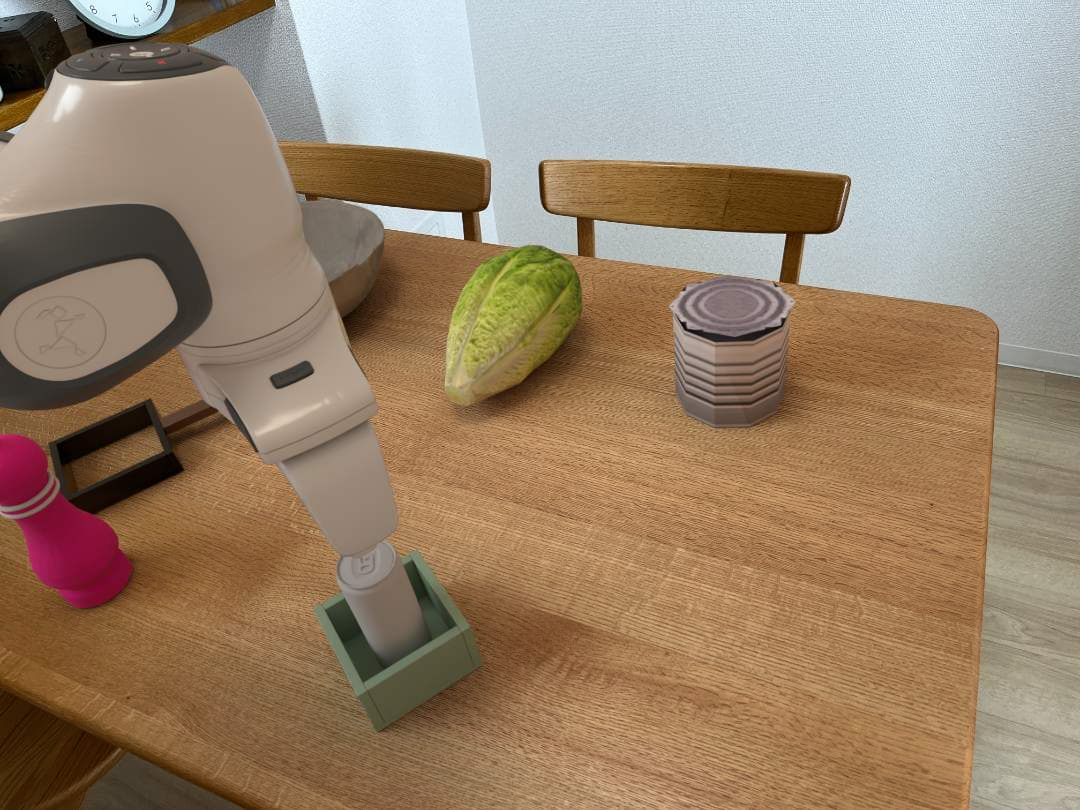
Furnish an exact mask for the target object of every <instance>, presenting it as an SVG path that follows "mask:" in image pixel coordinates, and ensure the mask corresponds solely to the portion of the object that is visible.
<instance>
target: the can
mask: <svg viewBox="0 0 1080 810" xmlns="http://www.w3.org/2000/svg"><path fill="white" fill-rule="evenodd" d="M795 303H796V300H795V299H794V298H793V297H792V296H790V295H789V294H788V293H787V292H786V291H785V290H784V289H782V287H780V285H778V284H777V283H775V281H773V280H768V279H762V278H761V279H760V278H753V277H747V276H739V275H732V274H726V275H722V276H718V277H713V278H710V279H706V280H701V281H697V282H694V283H688V284H686V285H685V286H684V288H683V289H682V290H681V291H680V292H679V294H677V296H676V297H675V299H673V301H672V302H671V303H670V305H668V307H669V309H670V310H671V311H672V324H673V354H674V381H675V382H674V383H675V384H674V385H675V395H676V398H677V399H678V402H679V403H680V405H681V407H682V409H683V412H684V413H685V415H686V416H688V417H691V418H692V419H694V420H697V421H699V422H701V423H704V424H706V425H707V426H710V427H712V428H714V429H721V428H723V429H724V428H727V429H728V428H729V429H730V428H751V427H753V426H755V425H757V424H759V423H761V422H762V421H764V420H766V419H769V418H770V417H772V416H774V415H776V414H777V413H778V410H779V408H780V405H781V402H782V399H783V397H784V394H785V385H786V375H787V362H788V361H787V360H788V350H789V338H790V337H789V336H790V325H791V313H792V308H793V307H794V305H795Z"/></svg>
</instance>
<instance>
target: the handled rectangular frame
mask: <svg viewBox="0 0 1080 810" xmlns="http://www.w3.org/2000/svg"><path fill="white" fill-rule="evenodd" d="M218 413H220V412H219V411H218V410H217V409H216V408H214V407H212V406H210V405H209V404H208V403H206V402H205V401H204V400H203V399H202V398H201V399H200V400H197V401H196V402H194V403H192V404H189V405H187V406H185V407H183V408H180V409H179V410H176V411H174V412H171V413H169V414H168V415H165V416H162V415H161V413H160V411H159V409H158V407H157V406H156V405H155V403H154V402H153V400H152V399H151V398H148V399H146V400H142V401H141V402H139V403H136V404H134V405H131V406H129V407H126V408H124V409H123V410H121V411H118V412H115V413H113V414H111V415H109V416H107V417H105V418H103V419H100V420H98V421H96V422H92V423H91V424H89V425H87V426H84V427H82V428H79V429H78V430H75V431H73V432H71V433H69V434H66V435H64V436H62V437H59V438H57V439H54V440H52V441H50V442H48V449H49V455H50V457H51V462H52V467H53V473H54V476H55V477H56V478H57V479H58V480H59V483H60V488H59V491H60V492H61V494H62V495H63V496H64V497H65V498H66V499H67V501H68V502H69V503H71V504H72V505H74V506H75V507H76V508H78V509H80V510H83V511H85V512H87V513H90V514H92V515H95V514H96V513H98V512H101V511H103V510H105V509H107V508H109V507H111V506H113V505H116V504H117V503H119V502H121V501H124V500H126V499H128V498H129V497H132V496H134V495H136V494H138V493H140V492H142V491H144V490H146V489H148V488H150V487H153V486H155V485H157V484H159V483H161V482H163V481H165V480H167V479H169V478H172V477H174V476H175V475H177V474H179V473H182V472H184V471H185V468H184V466H183V464H182V462H181V459H180V456H179V454H178V452H177V449H176V447H175V445H174V443H173V440H172V438H171V435H172V434H174V433H176V432H178V431H180V430H183V429H186V428H187V427H189V426H191V425H193V424H195V423H198V422H200V421H202V420H204V419H207V418H209V417H210V416H213V415H215V414H218ZM152 425H153V427H154V429H155V433H156V434H157V438H158V439H159V442H160V445H161V447H162V449H163V451H161V452H159V453H157V454H154V455H152V456H150V457H148V458H146V459H144V460H141V461H139V462H137V463H135V464H133V465H131V466H128V467H127V468H124V469H122V470H120V471H118V472H116V473H114V474H111V475H110V476H107V477H105V478H103V479H101V480H99V481H96V482H94V483H92V484H90V485H88V486H85V487H84V488H82V489H81V488H80V489H79V490H78V489H77V486H76V481H75V477H74V473H73V469H72V465H71V462H73V461H75V460H77V459H80V458H81V457H85V456H86V455H88V454H91V453H94V452H96V451H98V450H100V449H102V448H105V447H107V446H109V445H111V444H113V443H115V442H117V441H120V440H121V439H124V438H126V437H129V436H130V435H133V434H135V433H137V432H139V431H142V430H144V429H146V428H148V427H150V426H152Z"/></svg>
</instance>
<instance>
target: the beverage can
mask: <svg viewBox="0 0 1080 810" xmlns="http://www.w3.org/2000/svg"><path fill="white" fill-rule="evenodd" d="M334 572H335V577H336V583H337V585H338V587H339V589H340V591H341V592H342V593H343V595H344V597H345V599H346V601H347V603H348V605H349V606H350V608H351V610H352V612H353V614H354V616H355V618H356V620H357V622H358V623H359V625H360V627H361V629H362V631H363V633H364V635H365V637H366V639H367V641H368V643H369V645H370V647H371V649H372V651H373V653H374V655H375V657H376V659H377V661H378V663H379V664H380V666H381V667H382V668H383V669H384V670H385V669H387V668H388V667H390V666H392V665H393V664H395V663H397V662H398V661H400V660H401V659H403V658H405V657H406V656H408V655H410V654H411V653H413V652H414V651H416V650H418V649H419V648H421V647H423V646H424V645H426V644H428V643H429V642H431V641H432V636H431V633H430V630H429V628H428V626H427V623H426V621H425V618H424V616H423V613H422V611H421V608H420V606H419V603H418V601H417V598H416V596H415V593H414V591H413V588H412V586H411V583H410V581H409V578H408V576H407V573H406V571H405V569H404V566H403V564H402V561H401V556H400V555H399V553H398V552H397V550H396V549H395V548H394V546H393V544H392V543H390V542H389V541H388V540H386V539H384V540H383V541H381V542H380V543H378V544H377V547H376V548H375V549H374V550H373V551H371V552H369V553H368V554H366V555H364V556H362V557H360V558H357V559H354V558H352V557H343V556H341V555H339V556H338V557H337V560H336V562H335V568H334Z"/></svg>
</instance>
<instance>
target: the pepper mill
mask: <svg viewBox="0 0 1080 810" xmlns="http://www.w3.org/2000/svg"><path fill="white" fill-rule="evenodd" d="M48 467H49V459H48V454H46V452H45V450H44V449H43V447H42V446H41V445H40V444H38V443H37V441H35V440H34V439H32V438H30V437H28V436H26V435H22V434H18V433H17V434H16V433H5V434H0V515H1V516H2V517H4V518H6V519H8V520H13V521H15V523H17V525H18V526H19V528H20V530H21V532H22V533H23V535H24V538H25V542H26V546H27V554H28V559H29V563H30V565H31V568H32V571H33V572H34V574H35V576H36V577H37V578H38V580H39V581H40V582H41V583H42V584H43V585H45V586H46V587H48V588H50V589H54V590H58V592H59V594H60V595H61V596H62V597H63V599H64V600H65V601H66V602H67V604H69V605H70V606H72V607H74V608H77V609H91V608H95V607H97V606H100V605H103V604H105V603H107V602H108V601H110V600H112V599H113V598H114V597H116V596H117V595H119V594H120V592H121V591H122V590H123V589H124V588H125V587H126V586H127V585H128V582H129V581H130V579H131V576H132V573H133V565H132V562H131V561H130V559H129V557H128V556H127V554H126V553H124V551H123V550H122V549H121V548H120V541H119V536H118V534H117V533H116V531H115V530H114V529H113V527H111V526H110V524H109V523H108V522H106V521H105V520H104V519H102V518H100V517H99V516H97V515H95V514H90V513H87V512H85V511H83V510H80V509H78V508H76V507H75V506H74V505H72V504H71V503H69V502H68V501H67V499H66V498H65V497H64V496H63V495H62V494H61V492H60V491H59V488H60V483H59V480H58V479H57V478H56V476H55V473H54V471H52V470H51V469H49V468H48Z"/></svg>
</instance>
